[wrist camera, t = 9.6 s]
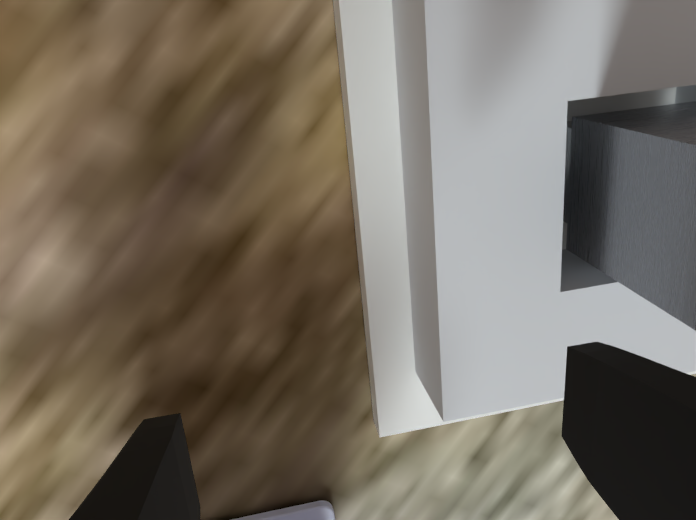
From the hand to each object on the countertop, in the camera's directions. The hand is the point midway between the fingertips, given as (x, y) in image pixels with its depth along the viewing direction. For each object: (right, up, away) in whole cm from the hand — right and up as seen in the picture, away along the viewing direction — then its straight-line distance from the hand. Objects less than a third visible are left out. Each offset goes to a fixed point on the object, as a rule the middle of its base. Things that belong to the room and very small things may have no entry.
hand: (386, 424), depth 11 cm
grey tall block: (+7, +6, +9) cm, 13 cm away
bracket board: (+7, +6, +10) cm, 14 cm away
